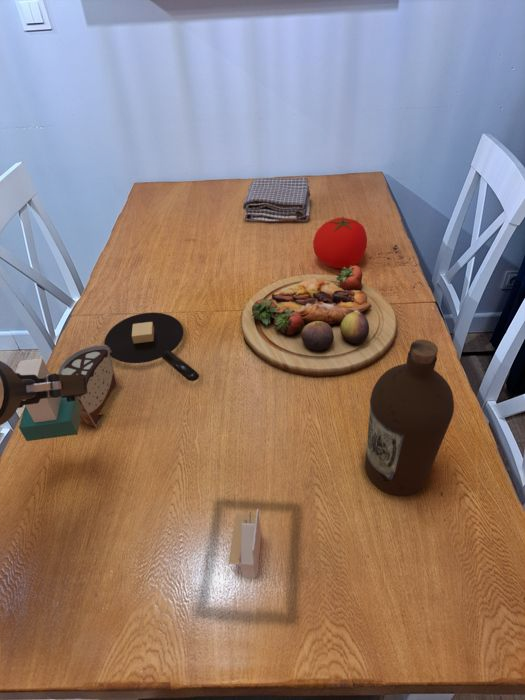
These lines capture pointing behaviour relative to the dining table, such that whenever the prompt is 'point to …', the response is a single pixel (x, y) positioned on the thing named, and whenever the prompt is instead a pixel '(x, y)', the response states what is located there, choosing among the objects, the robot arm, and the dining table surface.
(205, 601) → the dining table surface
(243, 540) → the architectural model
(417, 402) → the brown bottle
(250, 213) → the towel
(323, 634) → the dining table surface
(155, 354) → the pan
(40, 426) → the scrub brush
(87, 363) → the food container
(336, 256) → the tomato
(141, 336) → the tan square block
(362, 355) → the wooden plate
